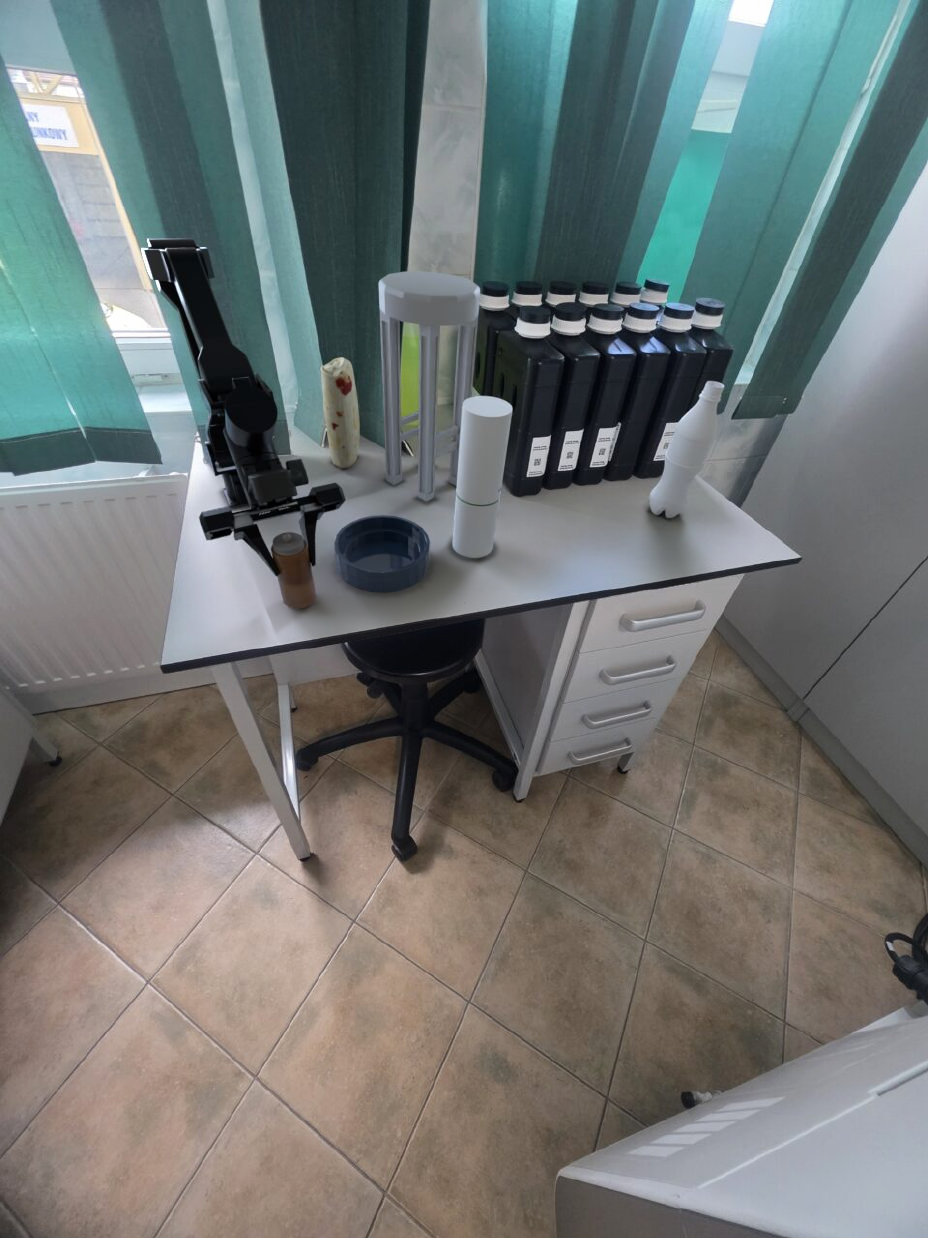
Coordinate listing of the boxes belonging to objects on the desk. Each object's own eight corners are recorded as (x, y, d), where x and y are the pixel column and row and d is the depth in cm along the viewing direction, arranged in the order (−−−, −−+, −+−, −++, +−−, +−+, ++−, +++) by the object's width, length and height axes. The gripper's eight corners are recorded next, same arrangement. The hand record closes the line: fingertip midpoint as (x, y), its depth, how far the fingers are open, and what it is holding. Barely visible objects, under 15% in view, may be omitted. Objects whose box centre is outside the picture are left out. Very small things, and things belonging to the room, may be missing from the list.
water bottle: (643, 514, 101) (692, 386, 84) (647, 497, 106) (695, 373, 88) (679, 524, 100) (737, 396, 82) (682, 507, 105) (737, 382, 87)
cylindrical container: (497, 541, 91) (518, 402, 74) (485, 564, 86) (504, 420, 69) (460, 531, 93) (471, 392, 75) (446, 553, 88) (455, 410, 70)
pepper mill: (286, 586, 77) (272, 522, 69) (318, 587, 77) (308, 524, 69) (279, 608, 74) (263, 544, 65) (313, 609, 74) (301, 545, 66)
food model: (359, 473, 104) (350, 371, 90) (326, 471, 104) (312, 369, 90) (364, 450, 111) (357, 353, 97) (333, 449, 111) (322, 350, 97)
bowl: (324, 549, 86) (321, 527, 83) (406, 528, 92) (406, 507, 89) (356, 605, 77) (354, 583, 74) (444, 578, 83) (446, 557, 80)
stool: (478, 483, 105) (499, 286, 80) (426, 511, 96) (431, 300, 72) (425, 456, 112) (429, 266, 87) (371, 480, 103) (359, 276, 78)
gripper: (176, 453, 58) (224, 584, 59) (333, 426, 65) (372, 543, 67) (184, 481, 68) (225, 592, 69) (320, 455, 75) (354, 556, 77)
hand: (295, 570), depth 70 cm, fingers closed on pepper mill, 5 cm apart
